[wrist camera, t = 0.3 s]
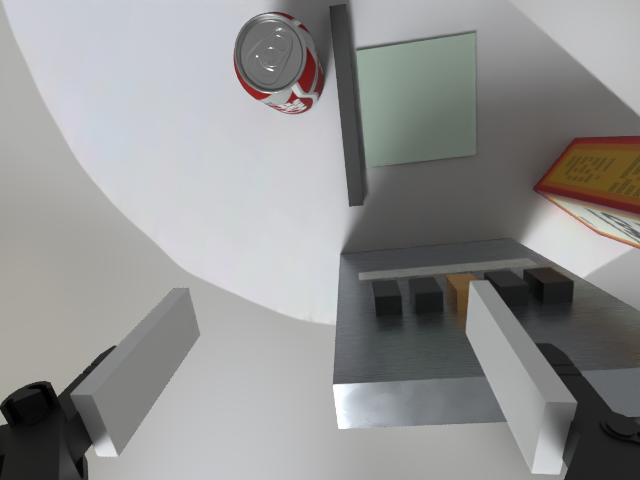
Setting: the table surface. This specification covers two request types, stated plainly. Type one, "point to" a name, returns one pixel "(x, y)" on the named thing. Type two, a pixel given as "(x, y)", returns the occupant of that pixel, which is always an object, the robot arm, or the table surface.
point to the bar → (346, 103)
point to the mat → (418, 100)
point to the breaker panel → (450, 332)
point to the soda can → (279, 63)
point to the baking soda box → (599, 185)
